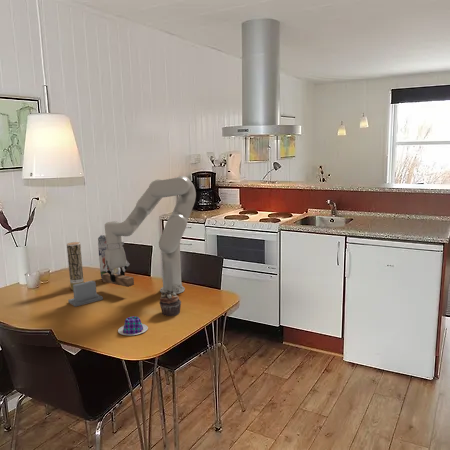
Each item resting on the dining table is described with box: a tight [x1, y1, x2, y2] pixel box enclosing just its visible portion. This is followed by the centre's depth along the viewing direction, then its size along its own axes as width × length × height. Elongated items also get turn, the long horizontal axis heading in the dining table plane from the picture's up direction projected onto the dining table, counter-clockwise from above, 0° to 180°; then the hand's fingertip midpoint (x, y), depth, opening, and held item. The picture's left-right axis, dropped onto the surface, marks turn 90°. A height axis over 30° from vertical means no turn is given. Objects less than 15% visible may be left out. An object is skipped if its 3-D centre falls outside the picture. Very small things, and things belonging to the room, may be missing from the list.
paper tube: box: [66, 241, 84, 291], centre depth 230 cm, size 7×7×25 cm
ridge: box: [67, 280, 104, 308], centre depth 212 cm, size 8×14×9 cm, turn 131°
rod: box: [102, 273, 135, 288], centre depth 222 cm, size 20×4×4 cm, turn 53°
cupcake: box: [159, 290, 182, 317], centre depth 193 cm, size 10×10×10 cm
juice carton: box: [97, 233, 121, 282], centre depth 245 cm, size 9×10×27 cm
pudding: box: [117, 315, 149, 336], centre depth 176 cm, size 12×12×5 cm
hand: (118, 280), depth 222 cm, fingers closed on rod, 4 cm apart
